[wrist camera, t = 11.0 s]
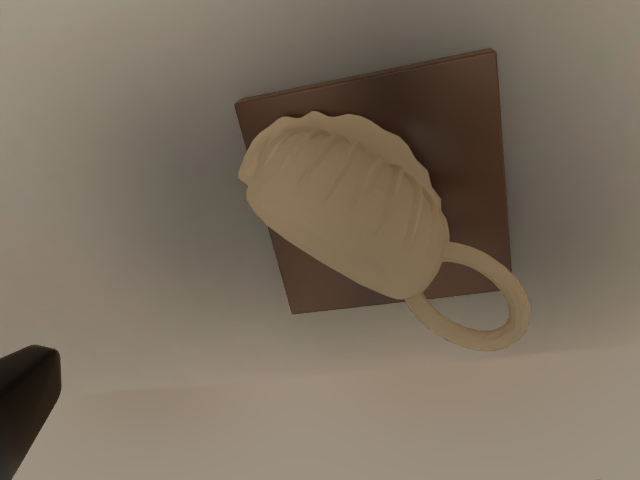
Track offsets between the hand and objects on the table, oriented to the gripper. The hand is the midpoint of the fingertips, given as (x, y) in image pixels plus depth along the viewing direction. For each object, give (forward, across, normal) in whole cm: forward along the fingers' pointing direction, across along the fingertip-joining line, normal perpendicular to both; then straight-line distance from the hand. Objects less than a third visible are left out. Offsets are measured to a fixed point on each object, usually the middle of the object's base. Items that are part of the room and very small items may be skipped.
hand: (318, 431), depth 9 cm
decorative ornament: (+10, 0, 0) cm, 10 cm away
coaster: (+11, -1, 0) cm, 11 cm away
